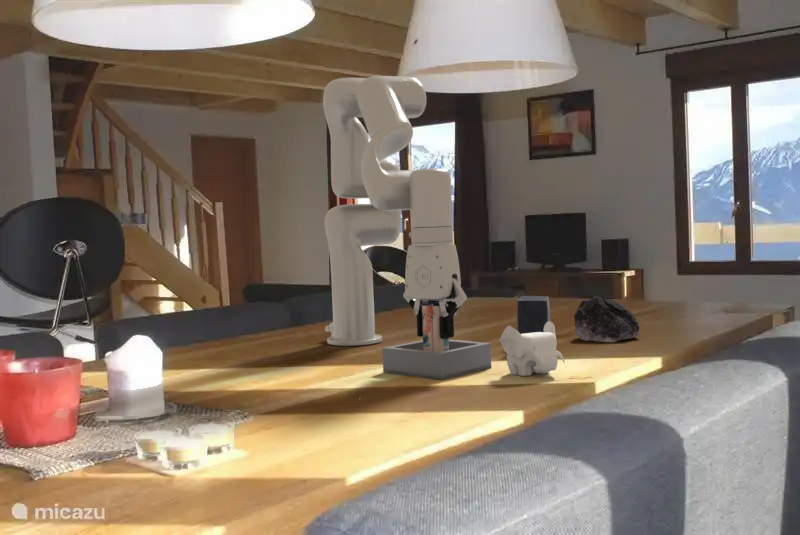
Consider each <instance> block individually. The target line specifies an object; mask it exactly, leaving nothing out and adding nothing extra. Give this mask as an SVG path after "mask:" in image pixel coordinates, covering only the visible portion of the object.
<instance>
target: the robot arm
mask: <svg viewBox="0 0 800 535" xmlns="http://www.w3.org/2000/svg"><path fill="white" fill-rule="evenodd" d="M323 91H324V92H323V96H322V97H323V100H322V104H323V112H324V117H325V120H326V123H327V127H328V130H329V135H330V182H331V189H332V191H333V192H332V193H333V194H334V195H335V196H336V197H339V198H341V199H369V202H370V203H358V204H357V203H355V204H354V203H352V204H340V205H337V206H334V207H332V208H330V209H329V210H328V211H327V213H326V214H325V217H324V230H325V235H326V240H327V245H328V251H329V259H330V263H329V264H330V278H331V281H330V282H331V298H332V322H330V324H328V325H326V326H324V331H325V332H327V333H328V332H329V333H330V334H331V335H330V336H329V337H327V339H326V343H327V345H330V346H341V347H347V346H348V347H351V346H352V347H355V346H356V347H357V346H366V345H367V346H368V345H372V344H374V345H375V344H377V343H378V344H379V343H381V342H382V341H383V336H382V335H381V334H376V324H375V302H374V301H375V300H374V298H375V297H374V279H373V278H374V276H373V264H372V261H371V259H370V257H369V256H368V255H367V254H366V252H364V250H363V249H362V247H366V246H367V247H368V246H382V245H383V246H384V245H389V244H394V243H395V242H397V241H398V238H399V237H400V235H401V225H402V224H401V221H402V211H410V227H411V228H410V231H409V233H408V237H409V239H411V245H408V247H407V253H406V261H405V276H404V279H405V280H404V283H405V284H404V285H405V286H404V292H403V294H402V297H403V298H404V299H405V300H406V302H407V303H409V304H408V305H409V306H410V307H411V309H412V310H413V314H414V315H415V316H416V332H417V334H416V335H417V337H421V338H423V326H422V300H437V301H438V300H439V304H440V309H441V313H442V316H441V317H440V318H439V323H440V338H441V339H446V338H449V339H450V338H453V337H454V336H455V328H454V327H455V324H454V319H455V318H454V316H456V315H457V311H459V309H460V308H461V305H463V304H464V303H465V302H466V301H467V299H468V297H467V296H468V295H466V293H465V291H464V290H463V288H462V287H461V285H462V284H461V283H462V281H461V270H460V269H461V268H460V262H459V255H458V252H457V246H456V244H455V243H454V237H453V236H454V233H453V230H454V229H453V202H452V201H453V199H452V198H453V197H452V178H451V177H452V176H451V173H450V172H449V171H448V170H447V169H445V168H438V167H437V168H420V169H416V170H413V169H412V170H411V169H404V170H403V169H402V170H401V169H400V167H399V165H398V164H397V162H396V161H395V159H394V158H392V157H390V156H392V155H394V154H397V153H398V152H400V151H402V150H403V149H405V148H406V147H407V146H408V145H409V144H410V143H411V141H412V138H413V136H414V129H413V126H412V123H411V122H410V120H409V119H416V118H419V117H420V116H422V115H423V113H424V112H425V110H426V108H427V94H426V89H425V87H424V85H423V84H422V82H421V81H420V80H418V79H417V78H416V77H413V76H401V75H400V76H399V75H398V76H397V75H395V76H394V75H372V76H369V77H342V78H341V77H340V78H336V79H333V80H331V81H328V83H327V84H326V85H325V88H324V90H323ZM359 118H362V119H363V121H364V122H363V123H364V124H365V126H364V125H363V124H362V122H361V121H360V120H359ZM365 127H366V128H365ZM369 138H370V140H369ZM446 297H447V298H446ZM446 302H447V303H448V307H447V304H446Z"/></svg>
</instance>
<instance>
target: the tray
mask: <svg viewBox="0 0 800 535" xmlns="http://www.w3.org/2000/svg"><path fill="white" fill-rule="evenodd" d="M458 340H459V339H453V340H449V350H447V351H442V352H433V351H423V339H422V340H417V341H412V342H408V343H401V344H396V345H390V346H386V347H381V350H382V370H383V373H385V374H394V375H402V376H408V377H417V378H423V379H424V378H425V379H430V380H431V379H432V380H439V381H442V380H446V379H451V378H454V377H455V378H456V377H458V376H464V375H467V373H468V374H471V373H475V372H480V371H483V370H487V369H491V368H492V353H491V352H492V351H491V350H492V349H491V342H481V341H480V342H479V341H473V342H469V341H470V340H464V341H458ZM479 370H480V371H479Z"/></svg>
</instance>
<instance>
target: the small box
mask: <svg viewBox="0 0 800 535" xmlns="http://www.w3.org/2000/svg"><path fill="white" fill-rule="evenodd" d="M549 298H550V297H549V296H548V295H547V296H545V295H543V296H542V295H538V296H537V295H520V297H519V298H518V299H517V300H516V319H517V320H516V322H517V331H518V332H519V333H520V334H525V333H534V332H544V326H545V324H546V323H547V322H548V321H550V322H551V320H550V300H549Z"/></svg>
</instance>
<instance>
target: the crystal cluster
mask: <svg viewBox="0 0 800 535" xmlns="http://www.w3.org/2000/svg"><path fill="white" fill-rule="evenodd" d="M573 318H574V332H575V334H576V336H578V337H579V339H580V340H582V341H584V342H585V341H586V342H595V343H596V342H597V343H606V342H610V343H616V342H621V341H623V340H630V339H633V338H637V337H638V336H640V332H639V331H640V325H639V321H638V320H637V318H636V317H635V316H634V314H633V312H632V311H630V310H629V309H628V308H626V306H624V305H623V304H620V303H618V302H617V301H615V300H613V299H608V298H605V297H601V296H598V295H596V296H592V297H591V298H590V299H583V300H581V302H580V303H579V305H578V308H577V309H576V310H575V312H574V315H573Z"/></svg>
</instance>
